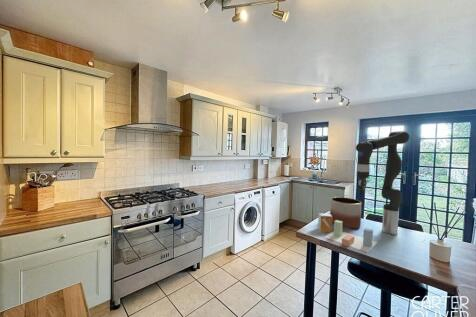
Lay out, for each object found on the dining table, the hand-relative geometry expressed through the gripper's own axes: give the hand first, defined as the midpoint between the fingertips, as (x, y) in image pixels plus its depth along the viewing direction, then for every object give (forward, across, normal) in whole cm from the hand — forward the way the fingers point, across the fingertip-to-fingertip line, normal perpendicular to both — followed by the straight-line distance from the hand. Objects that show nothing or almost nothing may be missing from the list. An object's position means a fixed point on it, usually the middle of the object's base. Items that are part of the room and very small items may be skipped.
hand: (361, 195), depth 143 cm
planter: (+29, -14, -15) cm, 36 cm away
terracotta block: (+26, +18, 0) cm, 31 cm away
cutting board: (+29, +16, -1) cm, 33 cm away
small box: (+29, +14, -19) cm, 38 cm away
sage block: (+28, +16, -9) cm, 33 cm away
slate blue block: (+28, +16, +9) cm, 33 cm away
